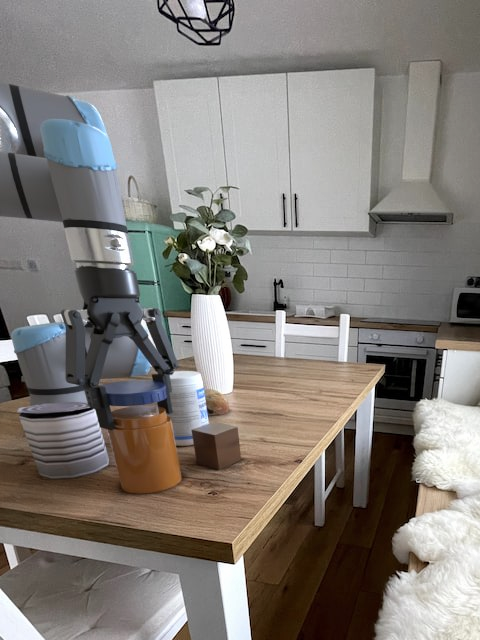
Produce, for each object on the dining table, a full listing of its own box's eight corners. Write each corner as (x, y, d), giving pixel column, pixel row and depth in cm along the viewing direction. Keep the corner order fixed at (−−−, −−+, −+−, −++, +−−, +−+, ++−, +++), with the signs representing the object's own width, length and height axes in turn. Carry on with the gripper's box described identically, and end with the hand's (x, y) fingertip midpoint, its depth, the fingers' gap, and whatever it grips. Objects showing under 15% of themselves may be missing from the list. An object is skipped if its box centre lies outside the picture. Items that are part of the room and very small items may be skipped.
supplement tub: (215, 442, 88) (206, 376, 82) (170, 450, 83) (157, 380, 77) (204, 431, 96) (195, 369, 89) (162, 437, 91) (149, 372, 84)
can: (21, 476, 70) (-3, 410, 65) (72, 453, 80) (54, 395, 75) (80, 481, 69) (59, 414, 64) (123, 457, 79) (109, 398, 74)
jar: (111, 482, 69) (92, 412, 64) (164, 466, 76) (151, 401, 70) (138, 499, 64) (120, 424, 58) (192, 480, 71) (180, 411, 65)
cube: (196, 463, 77) (191, 429, 74) (219, 454, 82) (215, 421, 79) (219, 470, 75) (214, 435, 72) (241, 459, 80) (237, 426, 77)
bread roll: (193, 428, 108) (187, 405, 102) (193, 404, 114) (188, 381, 108) (230, 426, 111) (227, 403, 105) (229, 402, 117) (226, 380, 111)
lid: (179, 398, 64) (177, 386, 64) (115, 410, 57) (112, 397, 56) (149, 388, 70) (146, 377, 69) (87, 398, 63) (84, 386, 62)
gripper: (29, 261, 45) (82, 444, 55) (188, 271, 63) (207, 408, 73) (-5, 260, 48) (51, 434, 58) (157, 271, 66) (179, 402, 76)
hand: (138, 419), depth 65 cm, fingers closed on lid, 10 cm apart
